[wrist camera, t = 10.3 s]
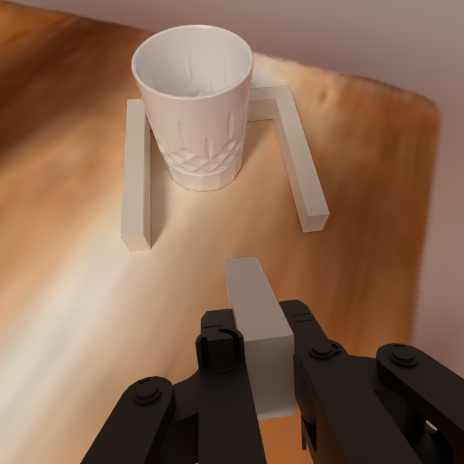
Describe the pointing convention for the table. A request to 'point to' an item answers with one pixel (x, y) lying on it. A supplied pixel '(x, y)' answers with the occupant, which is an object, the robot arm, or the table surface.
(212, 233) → the table surface
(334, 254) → the table surface
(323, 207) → the bay
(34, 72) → the table surface
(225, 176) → the white cup
